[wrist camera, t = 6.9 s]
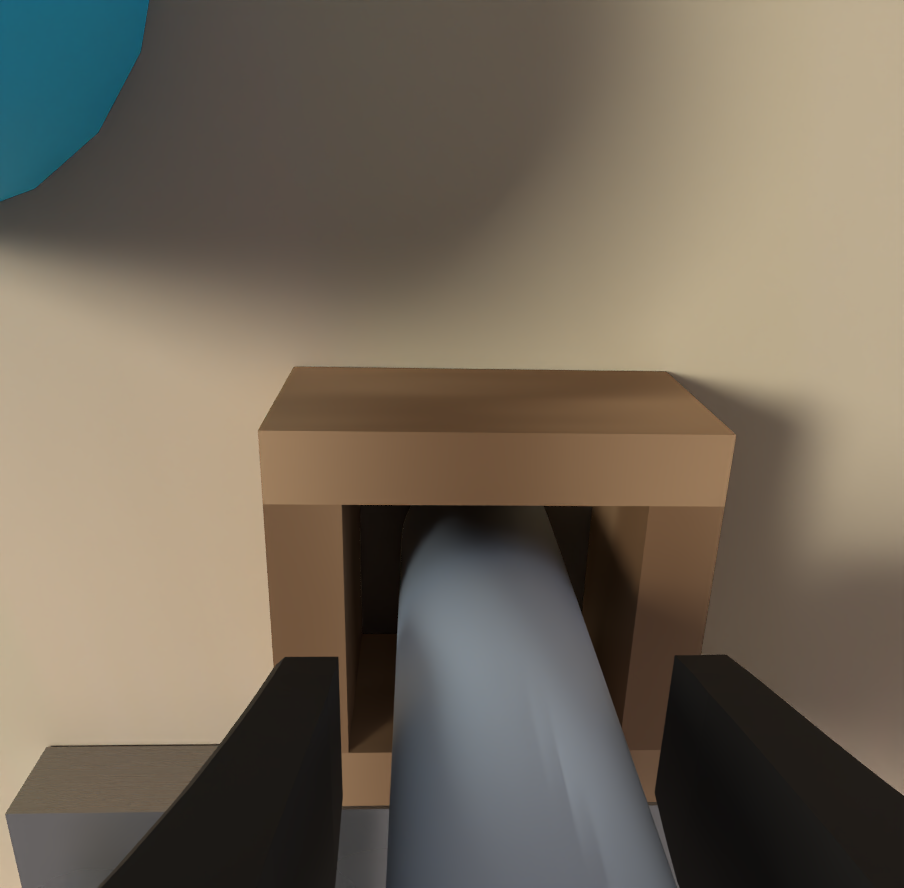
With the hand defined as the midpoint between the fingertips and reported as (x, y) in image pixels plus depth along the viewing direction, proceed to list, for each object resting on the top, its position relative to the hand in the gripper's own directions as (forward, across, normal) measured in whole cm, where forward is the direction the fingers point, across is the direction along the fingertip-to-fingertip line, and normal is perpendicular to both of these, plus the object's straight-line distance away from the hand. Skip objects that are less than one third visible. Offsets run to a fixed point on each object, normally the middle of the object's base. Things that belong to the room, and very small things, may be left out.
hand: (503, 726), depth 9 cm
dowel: (+5, 0, 0) cm, 5 cm away
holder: (+5, 0, 0) cm, 5 cm away
